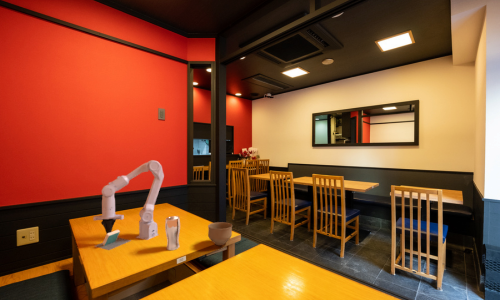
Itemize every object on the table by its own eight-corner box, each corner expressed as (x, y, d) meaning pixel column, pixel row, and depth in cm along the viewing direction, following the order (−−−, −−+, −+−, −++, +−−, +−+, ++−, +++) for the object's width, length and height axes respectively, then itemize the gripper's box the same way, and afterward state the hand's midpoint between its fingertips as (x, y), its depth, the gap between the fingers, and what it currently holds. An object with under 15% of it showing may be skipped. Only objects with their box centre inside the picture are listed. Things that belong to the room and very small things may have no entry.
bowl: (237, 241, 112) (237, 222, 112) (222, 251, 101) (221, 230, 102) (219, 236, 119) (218, 219, 119) (203, 245, 108) (202, 226, 108)
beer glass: (164, 251, 102) (164, 220, 102) (166, 245, 109) (166, 216, 109) (179, 249, 104) (179, 219, 104) (180, 243, 111) (180, 215, 111)
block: (115, 241, 114) (120, 231, 112) (104, 246, 108) (108, 235, 107) (113, 239, 114) (118, 229, 113) (102, 243, 109) (106, 233, 108)
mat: (131, 241, 115) (131, 240, 115) (108, 251, 104) (108, 250, 104) (116, 238, 120) (116, 237, 120) (94, 247, 109) (94, 246, 109)
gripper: (126, 205, 116) (126, 229, 116) (99, 206, 115) (100, 230, 115) (119, 208, 109) (119, 235, 109) (90, 209, 108) (90, 235, 108)
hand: (108, 233), depth 112 cm, fingers closed
